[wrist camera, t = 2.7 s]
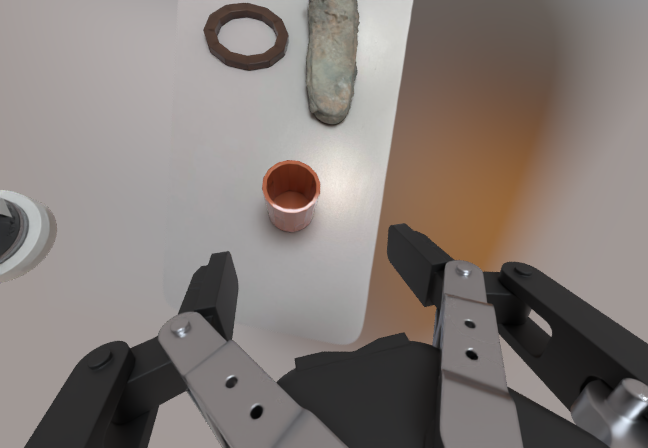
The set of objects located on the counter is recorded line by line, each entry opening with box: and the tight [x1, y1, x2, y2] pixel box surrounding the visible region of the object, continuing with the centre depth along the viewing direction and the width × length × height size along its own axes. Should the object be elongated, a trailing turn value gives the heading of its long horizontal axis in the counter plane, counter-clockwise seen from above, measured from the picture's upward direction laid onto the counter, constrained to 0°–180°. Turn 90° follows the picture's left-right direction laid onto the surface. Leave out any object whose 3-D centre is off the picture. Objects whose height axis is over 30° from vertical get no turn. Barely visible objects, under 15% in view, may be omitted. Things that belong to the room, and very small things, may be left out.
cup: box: [262, 160, 320, 232], centre depth 32 cm, size 6×6×8 cm
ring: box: [204, 3, 288, 70], centre depth 44 cm, size 14×14×1 cm
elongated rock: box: [306, 0, 360, 124], centre depth 44 cm, size 35×5×10 cm
